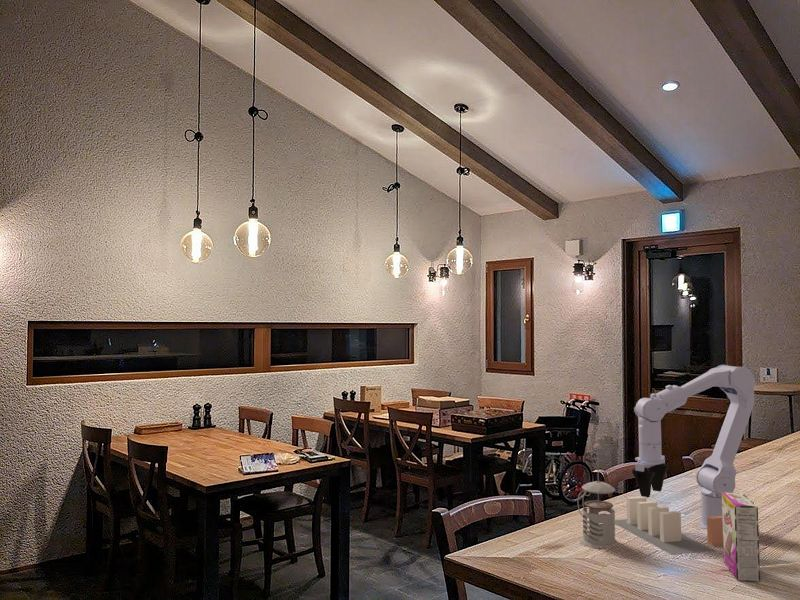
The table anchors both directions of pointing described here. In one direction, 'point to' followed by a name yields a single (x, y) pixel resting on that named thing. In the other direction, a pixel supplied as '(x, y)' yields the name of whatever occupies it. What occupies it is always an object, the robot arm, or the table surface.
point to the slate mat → (671, 547)
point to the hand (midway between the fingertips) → (651, 493)
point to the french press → (598, 516)
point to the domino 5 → (715, 530)
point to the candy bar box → (741, 536)
